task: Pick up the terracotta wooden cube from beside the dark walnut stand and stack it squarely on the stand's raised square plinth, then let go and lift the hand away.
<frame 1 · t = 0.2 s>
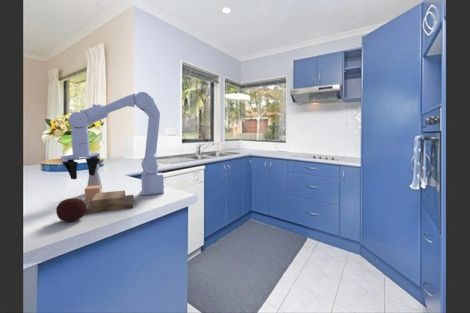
hand: (83, 177, 90), 9 cm above the countertop, tool pointing down, fingers open, 7 cm apart
base: (110, 205, 84), on the countertop
potato: (72, 220, 70), on the countertop
salt shaker: (95, 193, 101), on the countertop
cube: (93, 198, 92), on the countertop
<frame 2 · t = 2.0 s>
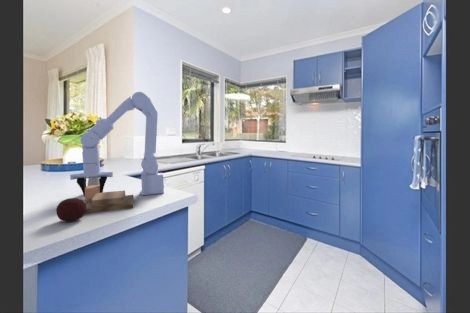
hand: (93, 195, 92), 1 cm above the countertop, tool pointing down, fingers closed on cube, 5 cm apart
cube: (93, 198, 92), on the countertop, touching gripper
everything else where it was.
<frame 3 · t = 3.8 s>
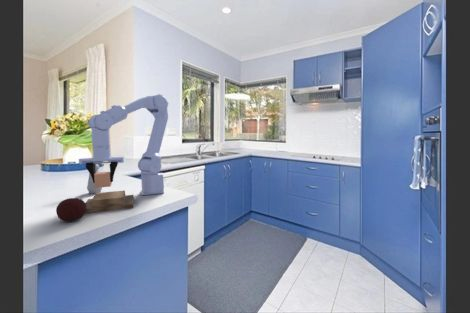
hand: (103, 181, 85), 8 cm above the countertop, tool pointing down, fingers closed on cube, 5 cm apart
cube: (103, 185, 86), point 7 cm above the countertop, touching gripper
everything else where it was.
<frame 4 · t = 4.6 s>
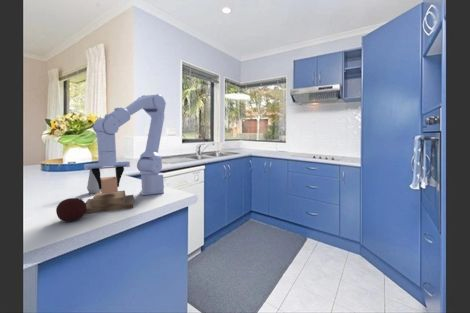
hand: (109, 187, 83), 7 cm above the countertop, tool pointing down, fingers closed on cube, 5 cm apart
cube: (109, 191, 83), point 5 cm above the countertop, touching gripper
everything else where it was.
when the fingers open (7 cm above the countertop, at t = 5.4 s): cube drops 1 cm, resting on base.
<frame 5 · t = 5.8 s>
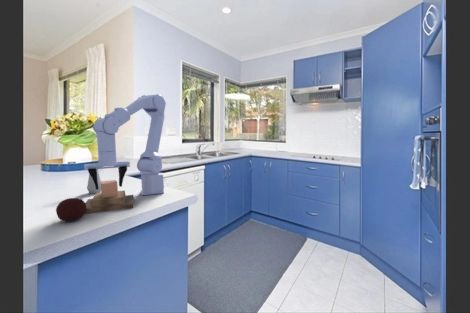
hand: (109, 187, 83), 7 cm above the countertop, tool pointing down, fingers open, 7 cm apart
cube: (109, 194, 83), point 4 cm above the countertop, touching base
everything else where it was.
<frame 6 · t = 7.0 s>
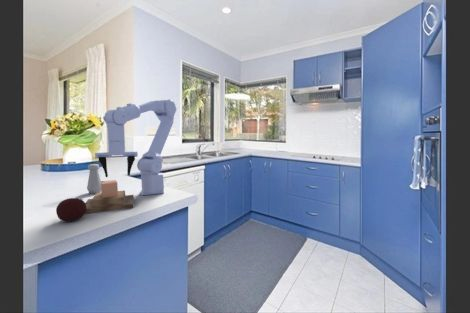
hand: (117, 175, 87), 10 cm above the countertop, tool pointing down, fingers open, 7 cm apart
nothing on the countertop moved.
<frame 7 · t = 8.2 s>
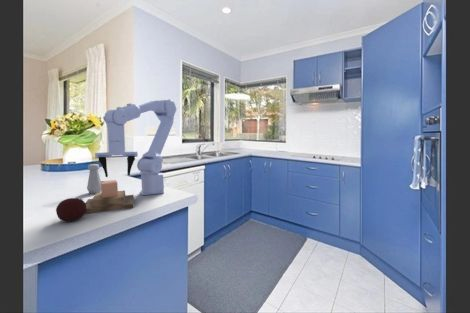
hand: (117, 175, 87), 10 cm above the countertop, tool pointing down, fingers open, 7 cm apart
nothing on the countertop moved.
at the end: cube 0.1 cm off-centre on the base, point 4.0 cm above the base's base; cube tilted 0°; cube touching base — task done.
